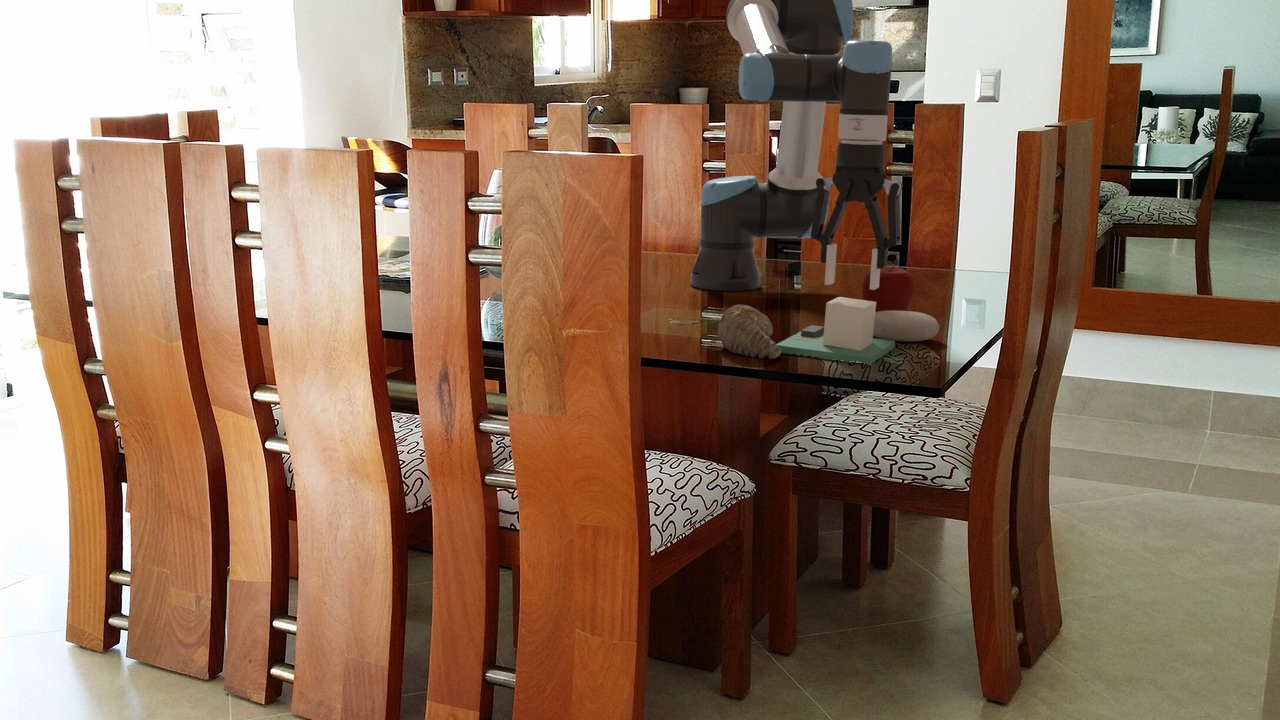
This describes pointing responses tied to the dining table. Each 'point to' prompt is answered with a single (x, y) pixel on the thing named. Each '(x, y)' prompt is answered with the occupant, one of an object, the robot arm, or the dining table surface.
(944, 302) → the dining table surface
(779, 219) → the robot arm
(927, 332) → the decorative stone
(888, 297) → the apple
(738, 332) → the seashell
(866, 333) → the plug
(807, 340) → the board
